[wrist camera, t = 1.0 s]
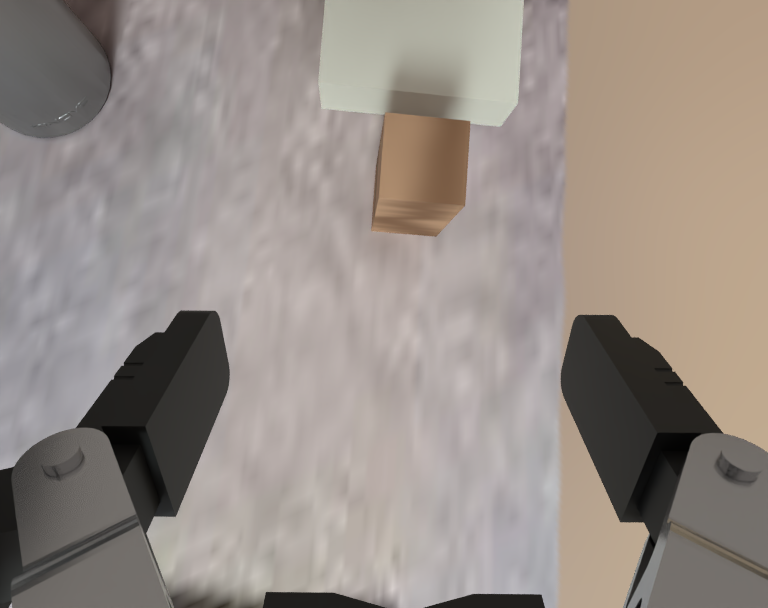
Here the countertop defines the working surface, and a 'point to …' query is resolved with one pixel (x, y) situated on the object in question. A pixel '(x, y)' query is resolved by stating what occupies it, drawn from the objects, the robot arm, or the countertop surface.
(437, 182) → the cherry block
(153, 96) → the countertop surface
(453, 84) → the cream base
